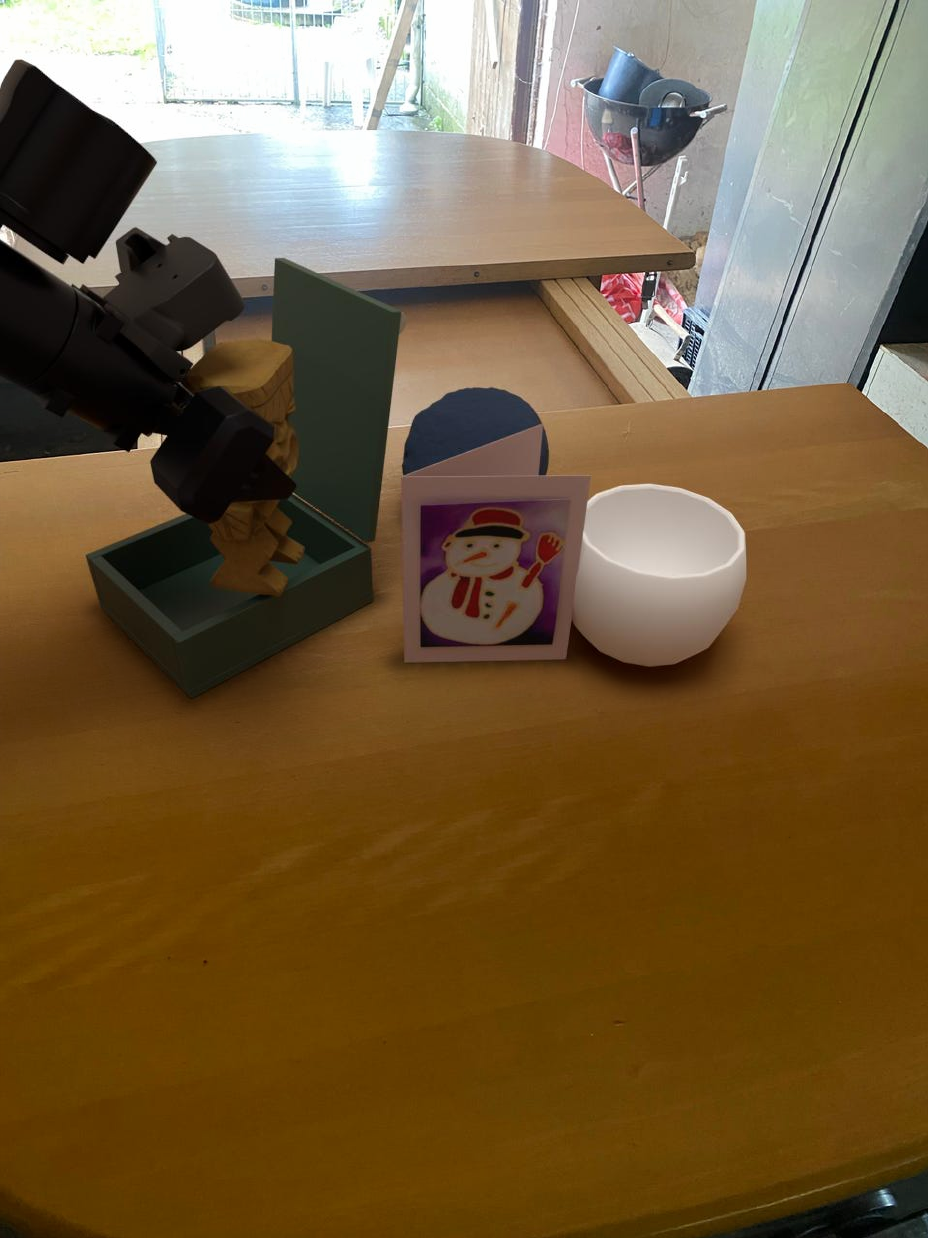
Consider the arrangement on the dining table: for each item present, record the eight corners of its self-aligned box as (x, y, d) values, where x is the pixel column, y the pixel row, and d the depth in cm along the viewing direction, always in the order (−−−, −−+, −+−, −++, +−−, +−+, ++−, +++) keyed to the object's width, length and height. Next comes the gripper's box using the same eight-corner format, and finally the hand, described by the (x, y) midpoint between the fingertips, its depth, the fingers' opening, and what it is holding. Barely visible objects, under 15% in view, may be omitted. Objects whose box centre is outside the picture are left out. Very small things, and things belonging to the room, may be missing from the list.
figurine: (282, 605, 60) (258, 390, 50) (186, 591, 61) (146, 377, 51) (314, 545, 65) (298, 341, 56) (227, 533, 66) (196, 330, 57)
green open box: (191, 699, 61) (178, 642, 58) (100, 609, 68) (84, 554, 65) (373, 601, 69) (371, 547, 66) (276, 530, 76) (270, 478, 73)
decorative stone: (435, 468, 85) (436, 366, 78) (559, 496, 81) (571, 392, 75) (381, 534, 76) (377, 426, 70) (517, 569, 73) (526, 458, 67)
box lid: (392, 311, 57) (443, 307, 60) (274, 257, 64) (325, 255, 67) (366, 543, 66) (412, 529, 68) (265, 474, 72) (311, 464, 75)
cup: (550, 582, 72) (562, 475, 66) (708, 589, 72) (735, 482, 66) (558, 693, 62) (572, 580, 56) (739, 701, 62) (774, 588, 56)
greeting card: (404, 671, 64) (401, 484, 54) (403, 603, 69) (400, 423, 60) (567, 667, 64) (593, 483, 55) (553, 601, 70) (574, 423, 60)
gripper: (213, 250, 40) (419, 417, 52) (63, 156, 51) (262, 311, 63) (74, 461, 41) (308, 575, 53) (-44, 324, 52) (172, 444, 65)
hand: (260, 464), depth 59 cm, fingers closed on figurine, 7 cm apart
